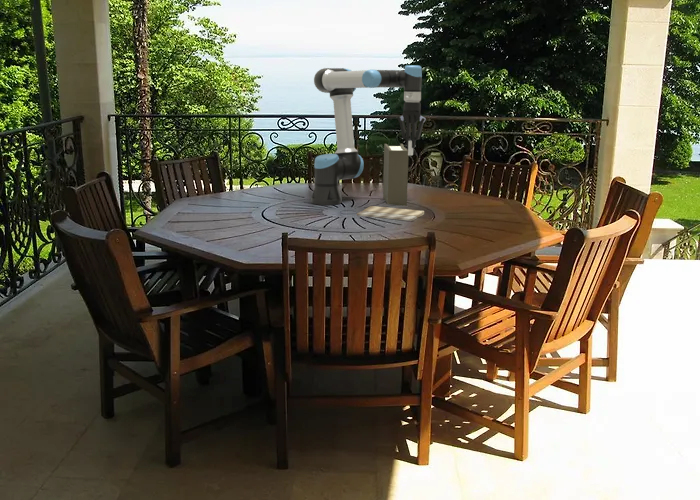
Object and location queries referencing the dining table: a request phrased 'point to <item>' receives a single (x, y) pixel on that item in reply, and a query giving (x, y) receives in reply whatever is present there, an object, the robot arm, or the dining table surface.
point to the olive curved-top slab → (395, 175)
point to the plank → (395, 211)
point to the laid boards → (387, 215)
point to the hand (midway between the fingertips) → (410, 155)
